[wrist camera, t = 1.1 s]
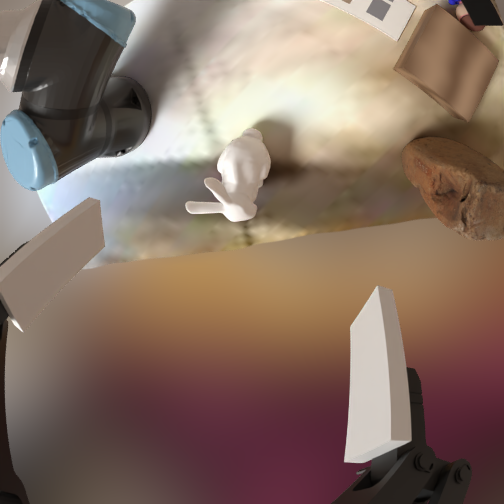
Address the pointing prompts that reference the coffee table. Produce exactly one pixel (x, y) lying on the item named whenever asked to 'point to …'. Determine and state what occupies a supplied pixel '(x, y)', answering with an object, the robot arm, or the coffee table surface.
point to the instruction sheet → (378, 13)
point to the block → (458, 186)
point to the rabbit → (237, 178)
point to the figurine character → (476, 14)
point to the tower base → (447, 63)
